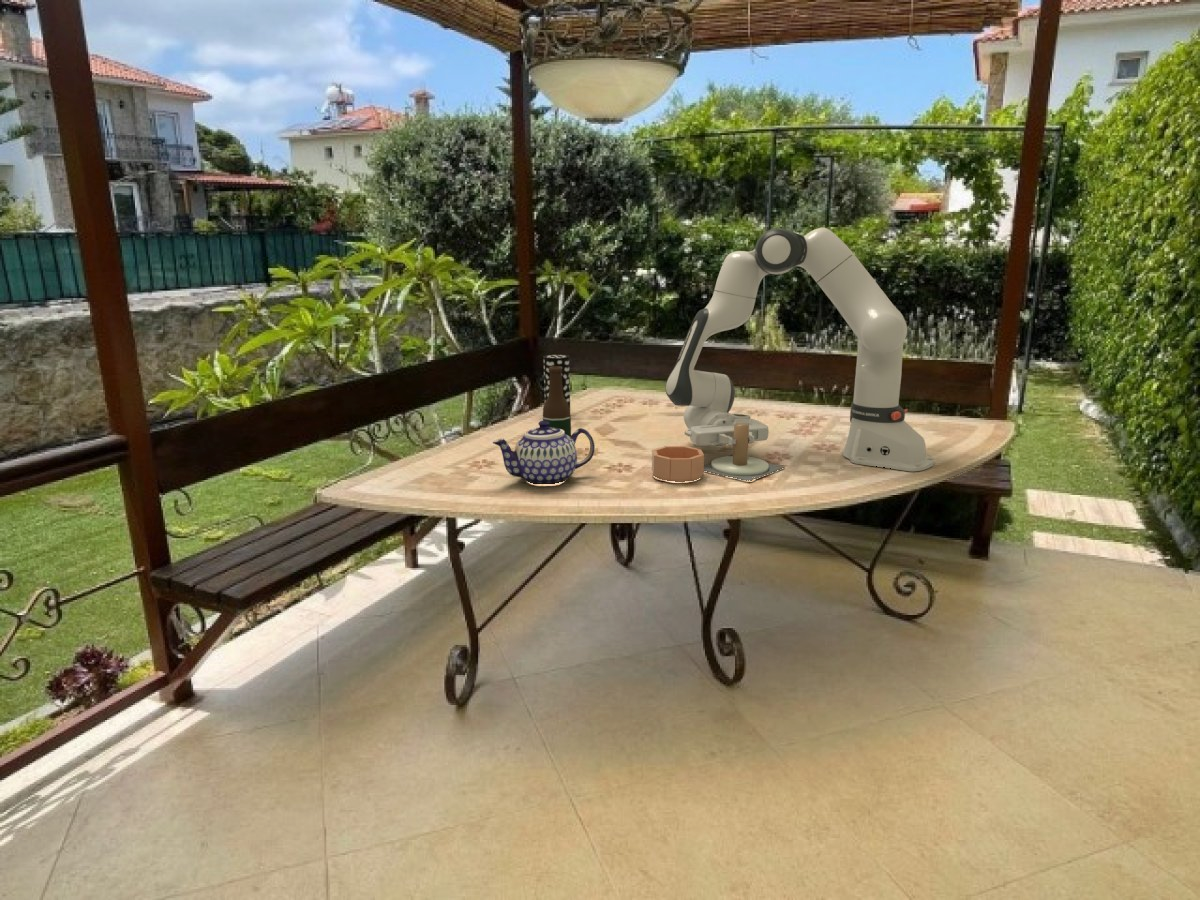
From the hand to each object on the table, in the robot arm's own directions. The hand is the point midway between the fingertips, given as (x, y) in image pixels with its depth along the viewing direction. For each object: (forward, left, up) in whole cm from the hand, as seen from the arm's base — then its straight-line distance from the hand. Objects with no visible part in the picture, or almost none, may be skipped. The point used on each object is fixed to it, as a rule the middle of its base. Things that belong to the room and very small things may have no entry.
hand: (742, 441), depth 183 cm
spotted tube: (+78, -10, -8) cm, 79 cm away
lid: (+1, 0, -7) cm, 7 cm away
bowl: (+9, +15, -8) cm, 19 cm away
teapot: (+30, +39, -8) cm, 49 cm away
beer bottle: (+44, +22, -8) cm, 49 cm away
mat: (+1, 0, -8) cm, 8 cm away
